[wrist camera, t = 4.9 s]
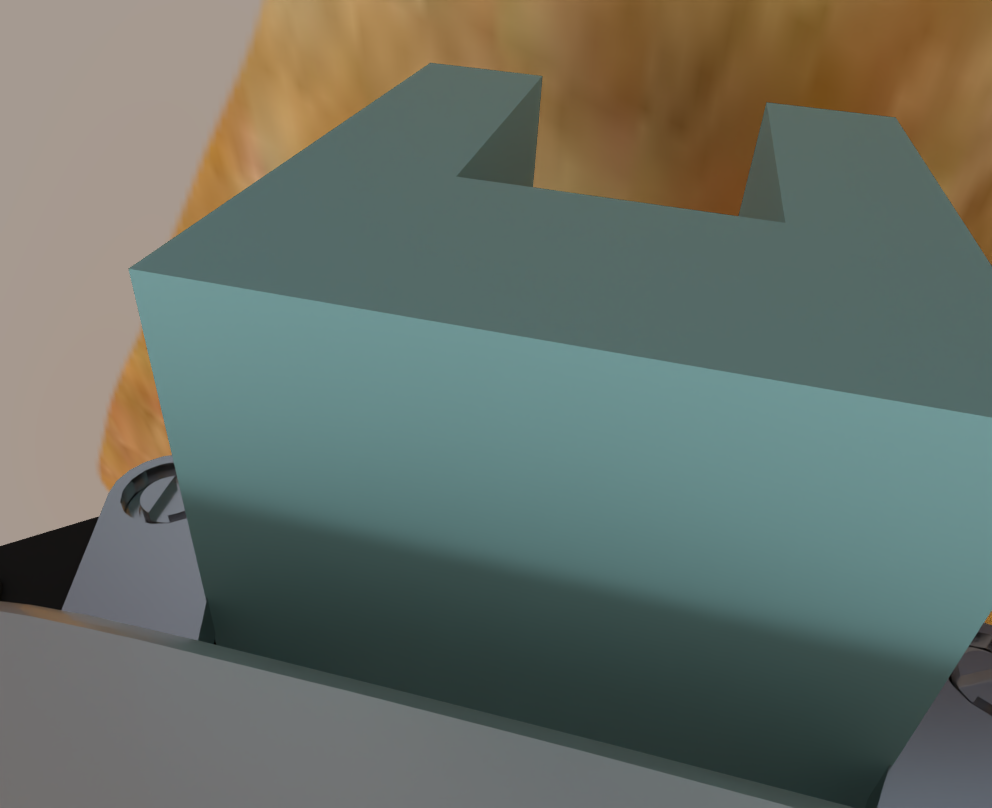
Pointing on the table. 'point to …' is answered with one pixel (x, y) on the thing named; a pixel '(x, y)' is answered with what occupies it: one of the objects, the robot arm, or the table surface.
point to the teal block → (592, 432)
